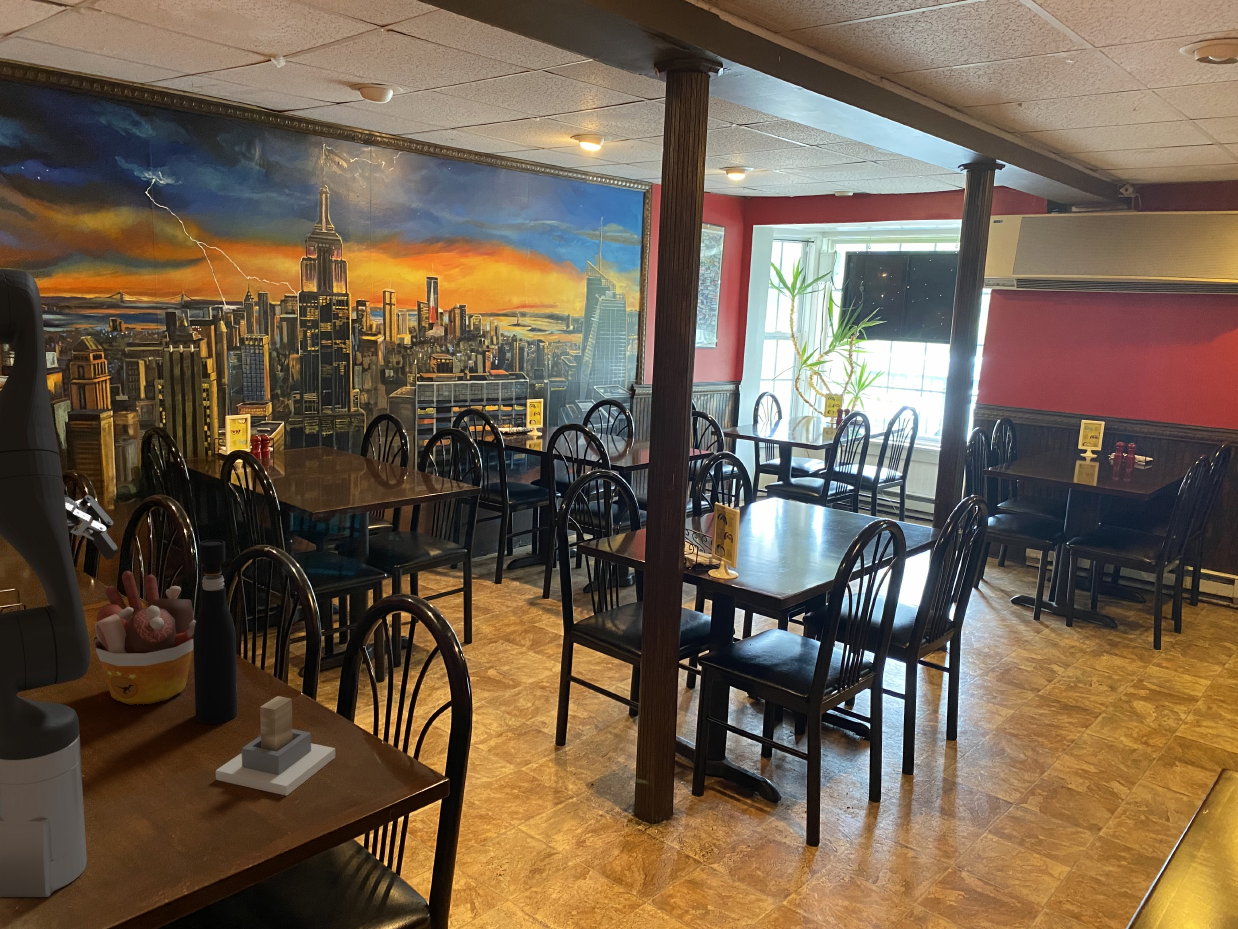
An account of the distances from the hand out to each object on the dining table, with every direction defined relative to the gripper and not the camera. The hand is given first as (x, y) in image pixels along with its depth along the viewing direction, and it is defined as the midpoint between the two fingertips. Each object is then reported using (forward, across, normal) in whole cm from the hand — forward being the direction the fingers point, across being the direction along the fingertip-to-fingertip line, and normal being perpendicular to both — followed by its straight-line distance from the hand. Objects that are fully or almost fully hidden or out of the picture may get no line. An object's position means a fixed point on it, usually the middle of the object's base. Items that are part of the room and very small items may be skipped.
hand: (89, 563), depth 132 cm
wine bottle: (+26, +18, +18) cm, 36 cm away
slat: (+39, +8, +3) cm, 39 cm away
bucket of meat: (+14, +22, +30) cm, 39 cm away
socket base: (+40, +8, +4) cm, 41 cm away
